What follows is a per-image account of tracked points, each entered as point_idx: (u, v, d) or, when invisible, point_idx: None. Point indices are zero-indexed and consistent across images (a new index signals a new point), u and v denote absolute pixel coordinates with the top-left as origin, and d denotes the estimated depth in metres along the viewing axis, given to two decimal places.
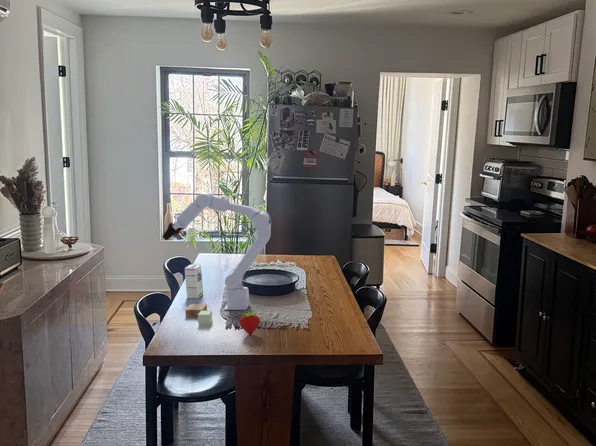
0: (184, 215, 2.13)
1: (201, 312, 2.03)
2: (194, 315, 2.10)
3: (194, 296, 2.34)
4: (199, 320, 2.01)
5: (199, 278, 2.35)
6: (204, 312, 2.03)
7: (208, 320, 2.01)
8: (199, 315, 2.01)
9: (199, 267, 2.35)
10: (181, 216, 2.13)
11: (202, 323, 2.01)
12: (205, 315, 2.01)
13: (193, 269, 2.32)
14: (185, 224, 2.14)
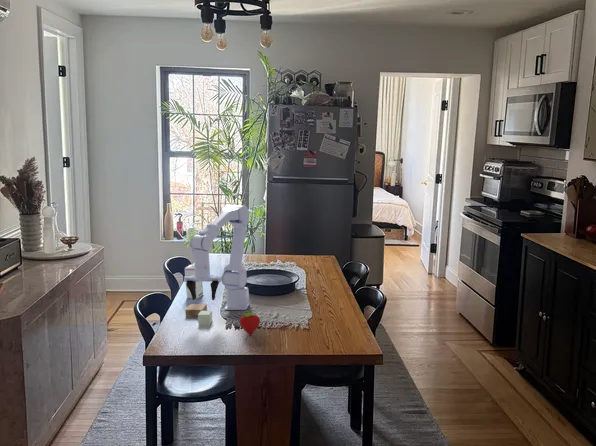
0: (208, 268, 1.98)
1: (201, 312, 2.03)
2: (194, 315, 2.10)
3: None
4: (199, 320, 2.01)
5: None
6: (204, 312, 2.03)
7: (208, 320, 2.01)
8: (199, 315, 2.01)
9: None
10: (207, 271, 1.98)
11: (202, 323, 2.01)
12: (205, 315, 2.01)
13: (193, 269, 2.32)
14: None
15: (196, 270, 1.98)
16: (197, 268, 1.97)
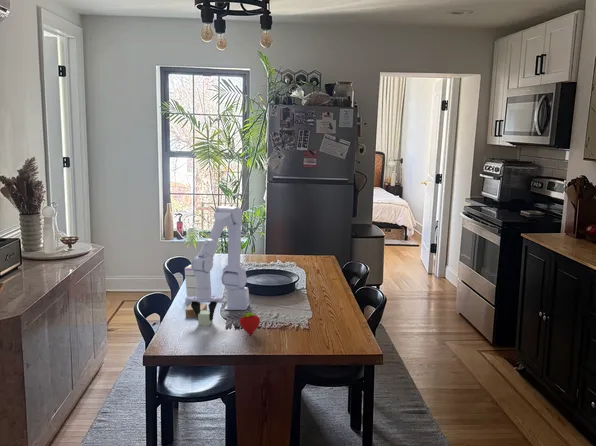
0: (209, 289, 2.00)
1: (201, 312, 2.03)
2: (194, 315, 2.10)
3: None
4: (199, 319, 2.01)
5: None
6: (204, 312, 2.03)
7: (208, 320, 2.01)
8: (199, 315, 2.01)
9: None
10: (208, 293, 2.00)
11: (202, 323, 2.01)
12: (205, 314, 2.01)
13: None
14: None
15: (197, 291, 1.99)
16: (198, 289, 1.99)
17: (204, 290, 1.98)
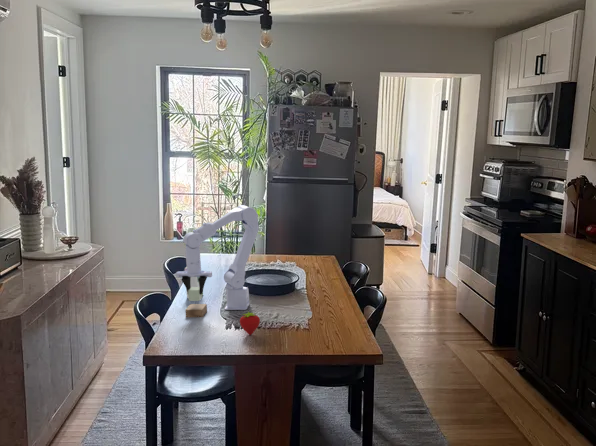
0: (199, 264, 2.09)
1: (191, 288, 2.12)
2: (194, 315, 2.10)
3: None
4: (190, 295, 2.10)
5: None
6: (194, 288, 2.12)
7: (198, 295, 2.10)
8: (189, 291, 2.10)
9: None
10: (198, 267, 2.09)
11: (192, 298, 2.10)
12: (195, 290, 2.10)
13: None
14: None
15: (187, 266, 2.08)
16: (189, 264, 2.08)
17: (194, 265, 2.08)
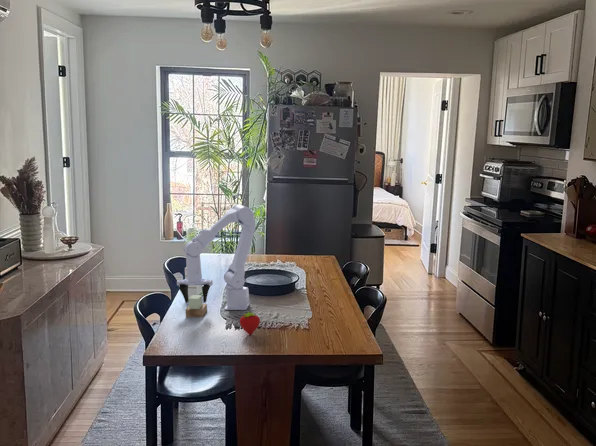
0: (199, 272, 2.10)
1: (192, 296, 2.13)
2: (194, 315, 2.11)
3: None
4: (190, 303, 2.11)
5: None
6: (194, 296, 2.13)
7: (198, 304, 2.11)
8: (189, 299, 2.11)
9: None
10: (198, 276, 2.09)
11: (192, 307, 2.11)
12: (195, 299, 2.10)
13: None
14: None
15: (188, 275, 2.09)
16: (189, 273, 2.08)
17: (194, 273, 2.08)
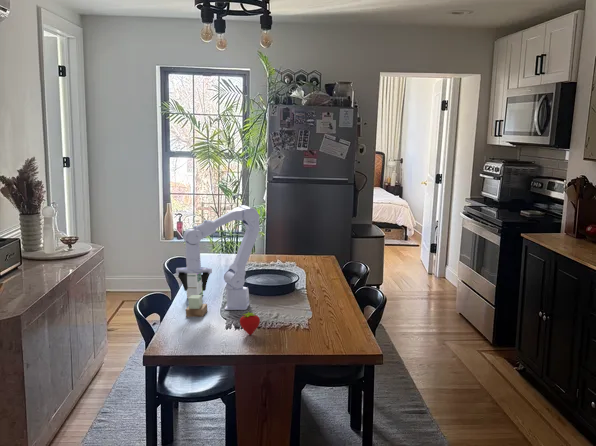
0: (199, 260, 2.09)
1: (191, 296, 2.13)
2: (194, 315, 2.11)
3: None
4: (190, 303, 2.11)
5: (199, 278, 2.35)
6: (194, 296, 2.13)
7: (198, 303, 2.11)
8: (189, 299, 2.11)
9: None
10: (198, 264, 2.08)
11: (192, 306, 2.11)
12: (195, 298, 2.11)
13: None
14: None
15: (187, 262, 2.08)
16: (188, 260, 2.07)
17: (194, 261, 2.07)
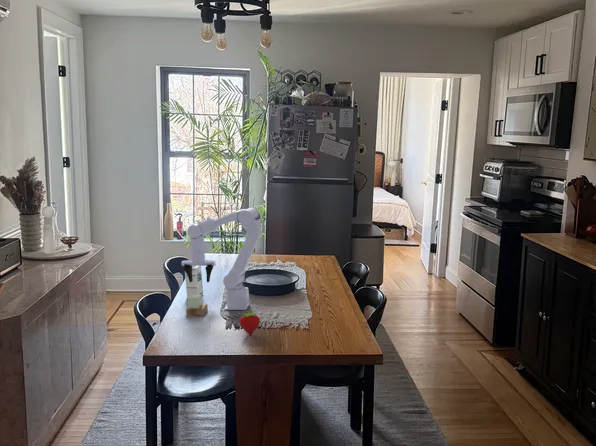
0: (203, 253, 2.21)
1: (191, 296, 2.13)
2: (195, 314, 2.11)
3: None
4: (189, 303, 2.12)
5: (199, 278, 2.35)
6: (194, 296, 2.13)
7: (197, 303, 2.11)
8: (189, 298, 2.11)
9: (199, 267, 2.35)
10: (202, 256, 2.20)
11: (192, 306, 2.12)
12: (194, 298, 2.11)
13: (193, 269, 2.32)
14: None
15: (192, 255, 2.20)
16: (193, 253, 2.19)
17: (198, 254, 2.19)
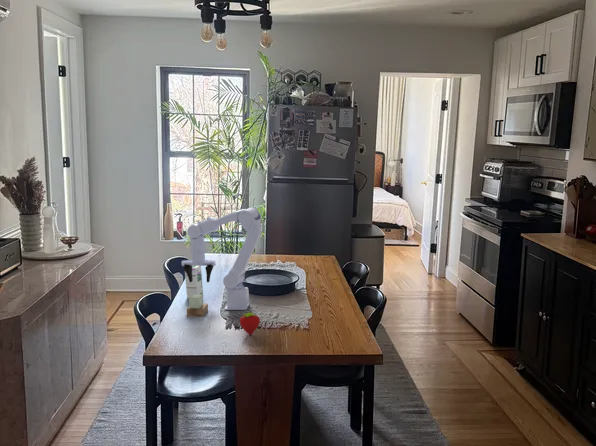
0: (203, 253, 2.21)
1: (192, 295, 2.14)
2: (195, 314, 2.11)
3: None
4: (190, 302, 2.12)
5: (199, 278, 2.35)
6: (195, 295, 2.14)
7: (198, 303, 2.11)
8: (190, 298, 2.12)
9: (199, 267, 2.35)
10: (202, 256, 2.20)
11: (193, 306, 2.12)
12: (195, 298, 2.11)
13: (193, 269, 2.32)
14: None
15: (192, 255, 2.20)
16: (193, 253, 2.19)
17: (198, 254, 2.19)
